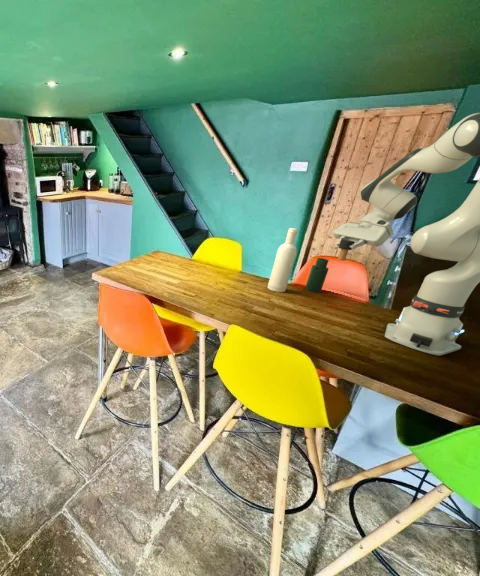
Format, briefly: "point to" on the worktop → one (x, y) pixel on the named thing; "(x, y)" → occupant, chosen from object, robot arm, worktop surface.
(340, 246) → the stopper
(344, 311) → the worktop surface
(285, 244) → the bottle
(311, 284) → the bottle
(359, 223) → the robot arm
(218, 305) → the worktop surface
